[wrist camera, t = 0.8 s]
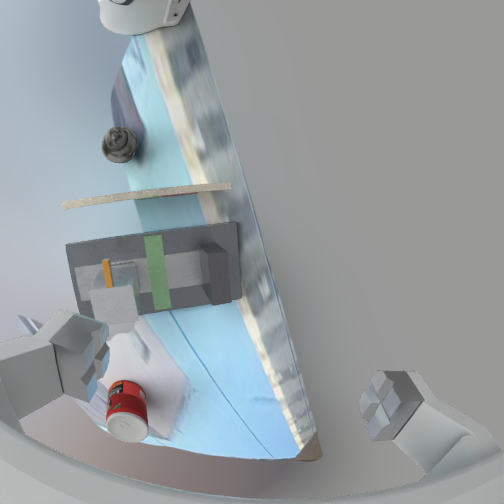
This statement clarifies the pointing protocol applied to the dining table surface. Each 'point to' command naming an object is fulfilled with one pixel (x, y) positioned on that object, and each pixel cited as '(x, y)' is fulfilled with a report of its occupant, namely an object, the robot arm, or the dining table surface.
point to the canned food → (127, 412)
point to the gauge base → (163, 258)
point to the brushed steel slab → (116, 294)
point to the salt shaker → (119, 144)
